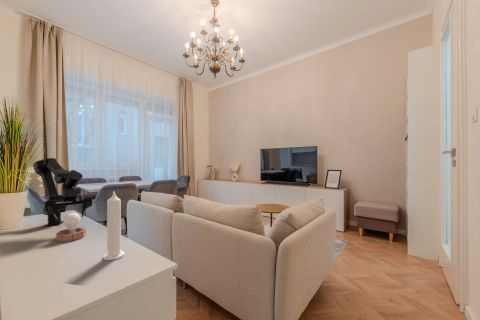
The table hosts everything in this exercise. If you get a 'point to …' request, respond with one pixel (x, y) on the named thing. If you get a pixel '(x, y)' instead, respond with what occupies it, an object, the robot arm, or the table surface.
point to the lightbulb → (71, 222)
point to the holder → (70, 235)
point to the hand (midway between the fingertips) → (70, 218)
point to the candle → (114, 229)
